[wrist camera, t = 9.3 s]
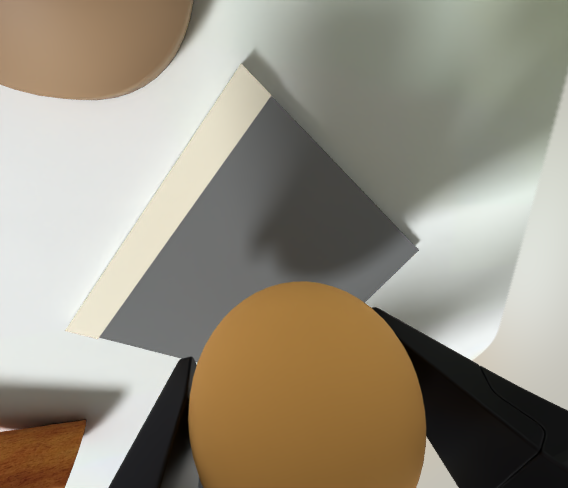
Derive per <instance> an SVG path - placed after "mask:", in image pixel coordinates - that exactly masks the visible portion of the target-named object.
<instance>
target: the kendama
mask: <svg viewBox="0 0 568 488" xmlns="http://www.w3.org/2000/svg"><path fill="white" fill-rule="evenodd" d="M85 426H86V420H81V421H74V422H67V423H60V424H53V425H46V426H39V427H32V428H25V429H18V430H11V431H4V432H0V488H65V486H66V483H67V481H68V478H69V475H70V473H71V470H72V468H73V465H74V462H75V459H76V456H77V453H78V450H79V447H80V444H81V441H82V437H83V434H84V430H85Z"/></svg>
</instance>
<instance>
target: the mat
mask: <svg viewBox="0 0 568 488" xmlns="http://www.w3.org/2000/svg"><path fill="white" fill-rule="evenodd" d="M418 251H419V250H418V249H417V248H416V247H415V245H414V244H413V243H412V242H411V241H410V240H409V239H408V238H407V237H406V236H405V235H404V234H403V233H402V232H401V231H400V230H399V229H398V228H397V227H396V226H395V225H394V224H393V222H392V221H391V220H390V219H389V218H388V217H387V216H386V215H385V214H384V213H383V212H382V211H381V210H380V209H379V208H378V207H377V206H376V205H375V204H374V203H373V202H372V201H371V199H370V198H369V197H368V196H367V195H366V194H365V193H364V192H363V191H362V190H361V189H360V188H359V187H358V186H357V185H356V184H355V183H354V182H353V181H352V180H351V179H350V178H349V176H348V175H347V174H346V173H345V172H344V171H343V170H342V169H341V168H340V167H339V166H338V165H337V164H336V163H335V162H334V161H333V160H332V159H331V158H330V157H329V156H328V155H327V153H326V152H325V151H324V150H323V149H322V148H321V147H320V146H319V145H318V144H317V143H316V142H315V141H314V140H313V139H312V138H311V137H310V136H309V135H308V134H307V133H306V132H305V130H304V129H303V128H302V127H301V126H300V125H299V124H298V123H297V122H296V121H295V120H294V119H293V118H292V117H291V116H290V115H289V114H288V113H287V112H286V111H285V110H284V109H283V107H282V106H281V105H280V104H279V103H278V102H277V101H276V100H275V99H274V98H273V97H272V96H271V94H270V93H269V92H268V91H267V90H266V89H265V88H264V87H263V86H262V85H261V84H260V83H259V81H258V80H257V79H256V78H255V77H254V76H253V75H252V74H251V73H250V72H249V71H248V70H247V69H246V68H245V67H244V66H243V65H242V64H240V66H239V67H238V69H237V70H236V72H235V73H234V75H233V76H232V78H231V79H230V81H229V82H228V84H227V85H226V87H225V88H224V90H223V91H222V93H221V94H220V96H219V97H218V99H217V101H216V102H215V104H214V105H213V107H212V108H211V110H210V111H209V113H208V114H207V116H206V117H205V119H204V120H203V122H202V123H201V125H200V126H199V128H198V129H197V131H196V132H195V134H194V135H193V137H192V138H191V140H190V142H189V143H188V145H187V146H186V148H185V149H184V151H183V152H182V154H181V155H180V157H179V158H178V160H177V161H176V163H175V164H174V166H173V167H172V169H171V170H170V172H169V173H168V175H167V176H166V178H165V180H164V181H163V183H162V184H161V186H160V187H159V189H158V190H157V192H156V193H155V195H154V196H153V198H152V199H151V201H150V202H149V204H148V205H147V207H146V208H145V210H144V211H143V213H142V214H141V216H140V218H139V219H138V221H137V222H136V224H135V225H134V227H133V228H132V230H131V231H130V233H129V234H128V236H127V237H126V239H125V240H124V242H123V243H122V245H121V246H120V248H119V249H118V251H117V252H116V254H115V255H114V257H113V259H112V260H111V262H110V263H109V265H108V266H107V268H106V269H105V271H104V272H103V274H102V275H101V277H100V278H99V280H98V281H97V283H96V284H95V286H94V287H93V289H92V290H91V292H90V293H89V295H88V297H87V298H86V300H85V301H84V303H83V304H82V306H81V307H80V309H79V310H78V312H77V313H76V315H75V316H74V318H73V319H72V321H71V322H70V324H69V325H68V327H67V328H66V330H65V331H67V332H71V333H75V334H79V335H83V336H87V337H91V338H95V339H98V338H103V339H107V340H111V341H115V342H119V343H123V344H127V345H131V346H135V347H139V348H143V349H146V350H150V351H154V352H158V353H162V354H166V355H170V356H174V357H178V358H186V357H190V356H192V357H193V358H194V360H195V362H198V360H199V358H200V356H201V353H202V351H203V349H204V347H205V345H206V343H207V341H208V340H209V338H210V336H211V335H212V333H213V331H214V330H215V329H216V327H217V326H218V325H219V323H220V322H221V321H222V320H223V318H224V317H225V316H226V315H227V314H228V313H229V312H230V311H231V310H232V309H233V308H234V307H236V306H237V305H238V304H239V303H241V302H242V301H243V300H245V299H246V298H248V297H249V296H251V295H253V294H254V293H256V292H259V291H261V290H263V289H265V288H268V287H271V286H274V285H278V284H281V283H288V282H301V281H307V282H316V283H321V284H325V285H329V286H333V287H336V288H338V289H341V290H343V291H346V292H348V293H350V294H351V295H353V296H355V297H357V298H358V299H360V300H361V301H363V302H364V303H365V302H366V301H367V300H368V299H369V298H370V297H371V296H372V295H373V294H374V293H375V292H376V291H377V290H378V289H379V288H380V287H381V286H382V285H383V284H384V283H385V282H386V281H387V280H389V279H390V278H391V277H392V276H393V275H394V274H395V273H396V272H397V271H398V270H399V269H400V268H401V267H402V266H403V265H404V264H405V263H406V262H407V261H408V260H409V259H410V258H411V257H412V256H413V255H414V254H415V253H416V252H418Z"/></svg>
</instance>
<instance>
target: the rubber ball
mask: <svg viewBox="0 0 568 488" xmlns="http://www.w3.org/2000/svg"><path fill="white" fill-rule="evenodd" d="M188 422H189V438H190V444H191V449H192V455H193V459H194V462H195V465H196V469H197V472H198V475H199V478H200V481H201V484H202V486H203V488H416V486H417V484H418V481H419V477H420V474H421V470H422V466H423V461H424V454H425V447H426V417H425V409H424V403H423V397H422V392H421V388H420V385H419V381H418V378H417V374H416V372H415V369H414V367H413V364H412V362H411V360H410V358H409V356H408V354H407V352H406V350H405V348H404V346H403V345H402V343H401V342H400V340H399V339H398V337H397V336H396V334H395V333H394V331H393V330H392V329H391V327H390V326H389V325H388V324H387V323H386V322H385V320H384V319H383V318H382V317H381V316H380V315H378V314H377V313H376V312H375V311H374V310H373V309H372V308H371V307H369V306H368V305H367V304H365V303H364V302H363V301H361V300H360V299H358V298H357V297H355V296H353V295H351V294H350V293H348V292H346V291H343V290H341V289H338V288H336V287H333V286H329V285H325V284H321V283H316V282H307V281H301V282H288V283H281V284H278V285H274V286H271V287H268V288H265V289H263V290H261V291H259V292H256V293H254V294H253V295H251V296H249V297H248V298H246V299H245V300H243V301H242V302H241V303H239V304H238V305H237V306H236V307H234V308H233V309H232V310H231V311H230V312H229V313H228V314H227V315H226V316H225V317H224V318H223V320H222V321H221V322H220V323H219V325H218V326H217V327H216V329H215V330H214V331H213V333H212V335H211V336H210V338H209V340H208V341H207V343H206V345H205V347H204V349H203V351H202V353H201V356H200V358H199V360H198V363H197V366H196V370H195V373H194V376H193V381H192V386H191V392H190V400H189V416H188Z"/></svg>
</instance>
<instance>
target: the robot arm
mask: <svg viewBox="0 0 568 488" xmlns="http://www.w3.org/2000/svg"><path fill="white" fill-rule="evenodd" d="M372 309H373V310H374V311H375V312H376V313H377V314H378V315H380V316H381V317H382V318H383V319H384V320H385V322H386V323H387V324H388V325H389V326H390V327H391V329H392V330H393V331H394V333H395V334H396V336H397V337H398V339H399V340H400V342H401V343H402V345H403V346H404V348H405V350H406V352H407V354H408V356H409V358H410V360H411V362H412V364H413V367H414V369H415V372H416V374H417V378H418V381H419V385H420V388H421V392H422V397H423V403H424V409H425V417H426V436H427V438H428V439H429V441H430V442H431V444H432V446H433V447H434V449H435V451H436V452H437V454H438V455H439V457H440V458H441V460H442V462H443V463H444V465H445V466H446V468H447V470H448V471H449V473H450V474H451V476H452V477H453V479H454V481H455V482H456V484H457V486H458V487H459V488H568V411H567V410H565V409H563V408H561V407H559V406H557V405H555V404H553V403H551V402H549V401H547V400H545V399H543V398H541V397H539V396H537V395H535V394H533V393H531V392H529V391H527V390H525V389H523V388H521V387H519V386H517V385H515V384H513V383H511V382H510V381H508V380H506V379H504V378H502V377H500V376H498V375H497V374H495V373H493V372H491V371H489V370H488V369H486V368H484V367H482V366H479V365H478V364H477V363H475V362H473V361H471V360H470V359H468V358H466V357H464V356H463V355H461V354H459V353H457V352H455V351H454V350H452V349H450V348H448V347H446V346H445V345H443V344H441V343H439V342H438V341H436V340H434V339H432V338H430V337H429V336H427V335H425V334H423V333H422V332H420V331H418V330H416V329H414V328H413V327H411V326H409V325H407V324H405V323H404V322H402V321H400V320H398V319H397V318H395V317H393V316H391V315H389V314H388V313H386V312H384V311H382V310H381V309H379V308H376V307H373V308H372ZM196 366H197V365H196V362H195V360H194V358H193V357H192V356H190V357H186V358H182V359H180V360H179V361H178V363H177V365H176V367H175V369H174V370H173V372H172V374H171V376H170V378H169V379H168V381H167V383H166V385H165V387H164V388H163V390H162V392H161V394H160V396H159V397H158V399H157V401H156V403H155V405H154V406H153V408H152V410H151V412H150V414H149V415H148V417H147V419H146V421H145V423H144V424H143V426H142V428H141V430H140V432H139V434H138V435H137V437H136V439H135V441H134V443H133V444H132V446H131V448H130V450H129V452H128V453H127V455H126V457H125V459H124V461H123V462H122V464H121V466H120V468H119V470H118V471H117V473H116V475H115V477H114V479H113V480H112V482H111V484H110V486H109V488H203V486H202V484H201V481H200V478H199V475H198V472H197V469H196V465H195V462H194V459H193V455H192V449H191V444H190V438H189V422H188V416H189V400H190V392H191V386H192V381H193V376H194V373H195V370H196Z"/></svg>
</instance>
